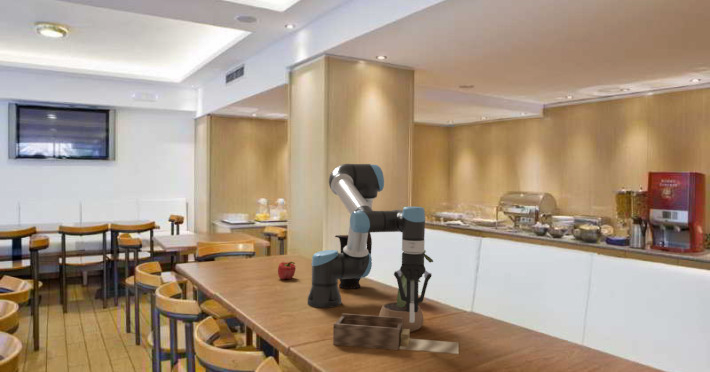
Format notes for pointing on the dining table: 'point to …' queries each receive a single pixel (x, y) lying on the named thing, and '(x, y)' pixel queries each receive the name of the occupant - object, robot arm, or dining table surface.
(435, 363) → the dining table surface
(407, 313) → the potted plant
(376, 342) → the box
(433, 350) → the lid
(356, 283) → the jug
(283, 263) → the vegetable
